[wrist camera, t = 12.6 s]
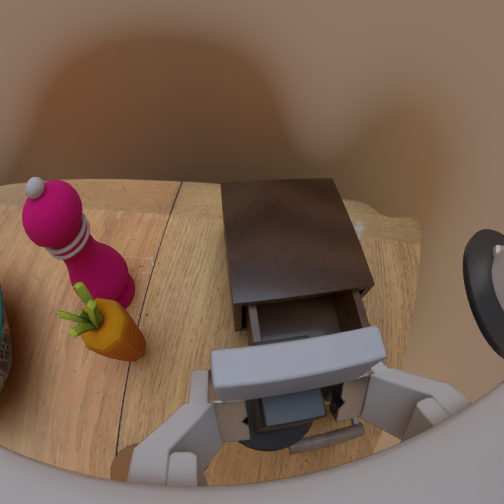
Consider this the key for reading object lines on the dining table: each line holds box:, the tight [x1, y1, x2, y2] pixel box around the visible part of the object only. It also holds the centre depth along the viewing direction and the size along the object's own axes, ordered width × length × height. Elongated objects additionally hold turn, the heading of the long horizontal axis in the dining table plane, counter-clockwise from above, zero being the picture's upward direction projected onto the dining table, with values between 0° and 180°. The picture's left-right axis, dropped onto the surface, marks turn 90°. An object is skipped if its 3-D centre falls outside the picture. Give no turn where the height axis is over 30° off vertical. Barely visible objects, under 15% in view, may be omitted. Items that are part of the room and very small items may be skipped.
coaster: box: [111, 444, 138, 482], centre depth 20 cm, size 10×10×1 cm
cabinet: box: [221, 178, 374, 331], centre depth 32 cm, size 15×14×9 cm
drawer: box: [244, 290, 370, 454], centre depth 25 cm, size 18×12×7 cm
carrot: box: [58, 282, 146, 361], centre depth 22 cm, size 5×5×15 cm
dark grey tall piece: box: [210, 326, 387, 451], centre depth 9 cm, size 4×4×10 cm
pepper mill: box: [22, 177, 135, 309], centre depth 24 cm, size 7×7×20 cm
